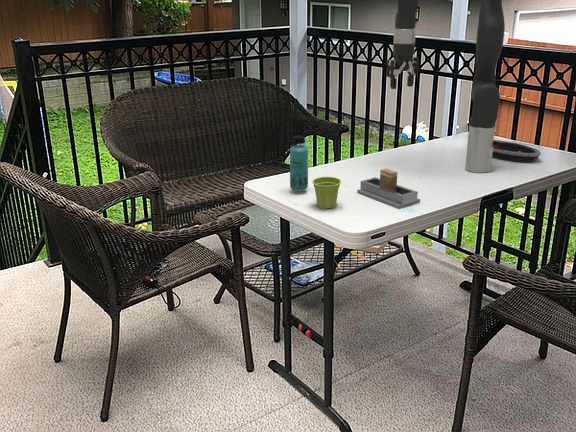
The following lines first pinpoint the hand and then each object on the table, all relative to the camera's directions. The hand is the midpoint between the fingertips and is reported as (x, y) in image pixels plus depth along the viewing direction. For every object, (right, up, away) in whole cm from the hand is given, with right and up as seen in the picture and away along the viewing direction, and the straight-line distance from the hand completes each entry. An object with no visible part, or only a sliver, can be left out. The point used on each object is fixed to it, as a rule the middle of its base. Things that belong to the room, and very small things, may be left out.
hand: (401, 87), depth 218 cm
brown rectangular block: (-8, -40, -15) cm, 43 cm away
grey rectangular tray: (-8, -41, -15) cm, 44 cm away
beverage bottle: (-38, -39, -8) cm, 54 cm away
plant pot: (-29, -44, -21) cm, 57 cm away
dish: (+48, -22, +30) cm, 61 cm away
